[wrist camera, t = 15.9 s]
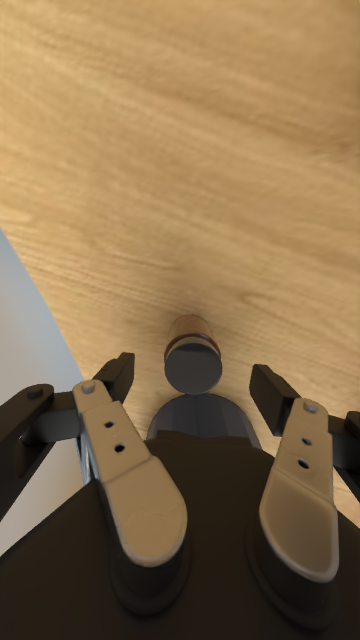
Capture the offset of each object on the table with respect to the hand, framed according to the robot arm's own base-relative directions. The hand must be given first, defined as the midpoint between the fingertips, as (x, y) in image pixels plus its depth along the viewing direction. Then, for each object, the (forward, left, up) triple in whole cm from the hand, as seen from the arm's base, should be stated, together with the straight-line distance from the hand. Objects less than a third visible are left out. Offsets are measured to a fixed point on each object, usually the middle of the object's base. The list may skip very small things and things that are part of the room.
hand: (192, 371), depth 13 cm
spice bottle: (0, 0, -7) cm, 7 cm away
